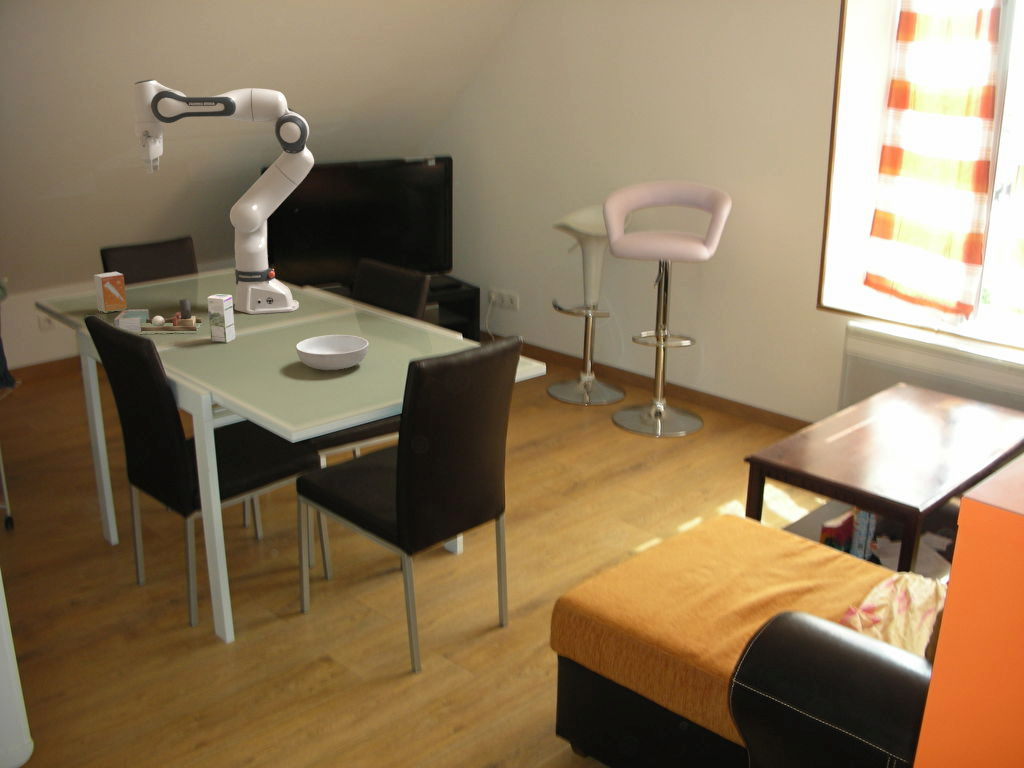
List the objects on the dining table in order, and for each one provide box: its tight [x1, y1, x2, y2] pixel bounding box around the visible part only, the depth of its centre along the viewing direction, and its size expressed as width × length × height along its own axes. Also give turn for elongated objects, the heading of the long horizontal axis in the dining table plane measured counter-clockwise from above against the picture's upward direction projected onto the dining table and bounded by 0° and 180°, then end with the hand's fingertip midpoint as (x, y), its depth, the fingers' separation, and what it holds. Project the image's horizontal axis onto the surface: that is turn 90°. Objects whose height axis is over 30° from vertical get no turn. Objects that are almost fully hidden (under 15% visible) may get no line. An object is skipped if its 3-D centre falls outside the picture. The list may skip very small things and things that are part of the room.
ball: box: [151, 315, 165, 327], centre depth 344 cm, size 4×4×4 cm
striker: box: [171, 298, 197, 326], centre depth 344 cm, size 6×8×9 cm
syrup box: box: [206, 293, 236, 344], centre depth 330 cm, size 6×6×14 cm
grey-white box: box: [113, 308, 150, 332], centre depth 343 cm, size 8×13×5 cm, turn 7°
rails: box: [142, 317, 203, 332], centre depth 345 cm, size 18×11×2 cm, turn 97°
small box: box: [93, 271, 128, 311], centre depth 365 cm, size 8×6×13 cm
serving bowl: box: [295, 334, 369, 371], centre depth 306 cm, size 21×21×7 cm
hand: (153, 172), depth 354 cm, fingers open, 8 cm apart
